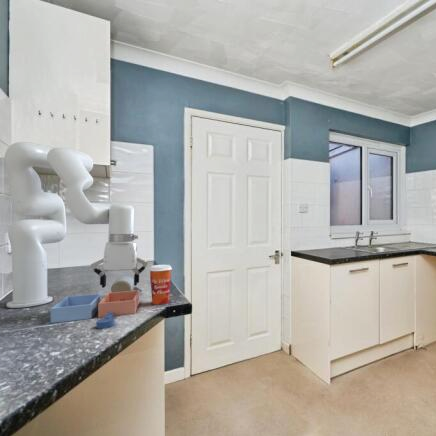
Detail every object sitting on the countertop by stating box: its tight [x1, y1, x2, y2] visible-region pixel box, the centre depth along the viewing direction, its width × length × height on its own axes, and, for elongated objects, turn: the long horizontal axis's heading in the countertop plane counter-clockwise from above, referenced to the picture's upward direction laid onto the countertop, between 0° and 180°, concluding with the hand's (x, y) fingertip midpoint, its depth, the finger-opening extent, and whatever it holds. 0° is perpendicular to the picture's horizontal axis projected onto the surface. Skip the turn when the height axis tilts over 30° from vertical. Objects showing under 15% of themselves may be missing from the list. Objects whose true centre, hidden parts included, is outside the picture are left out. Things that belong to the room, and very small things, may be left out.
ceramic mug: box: [110, 275, 143, 296], centre depth 129 cm, size 11×8×8 cm
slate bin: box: [50, 292, 103, 324], centre depth 105 cm, size 16×10×4 cm, turn 26°
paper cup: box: [148, 264, 173, 306], centre depth 119 cm, size 8×8×14 cm
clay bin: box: [97, 290, 141, 319], centre depth 111 cm, size 16×10×4 cm, turn 26°
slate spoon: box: [95, 312, 115, 330], centre depth 97 cm, size 11×4×2 cm, turn 26°
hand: (120, 285), depth 113 cm, fingers open, 9 cm apart
